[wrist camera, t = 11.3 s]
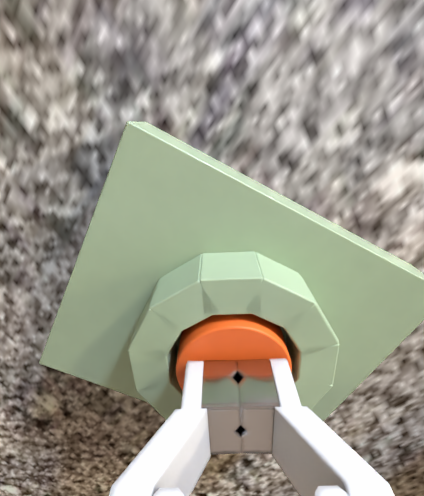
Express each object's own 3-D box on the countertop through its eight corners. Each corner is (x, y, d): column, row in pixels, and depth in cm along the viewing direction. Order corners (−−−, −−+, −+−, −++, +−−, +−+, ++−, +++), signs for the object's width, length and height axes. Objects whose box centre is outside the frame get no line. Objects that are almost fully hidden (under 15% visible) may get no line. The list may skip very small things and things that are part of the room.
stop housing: (64, 328, 14) (8, 404, 10) (144, 121, 10) (103, 119, 6) (281, 411, 16) (301, 500, 12) (411, 264, 12) (497, 326, 8)
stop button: (165, 351, 11) (157, 391, 9) (209, 277, 10) (208, 308, 8) (248, 384, 11) (254, 427, 10) (299, 318, 10) (316, 355, 9)
